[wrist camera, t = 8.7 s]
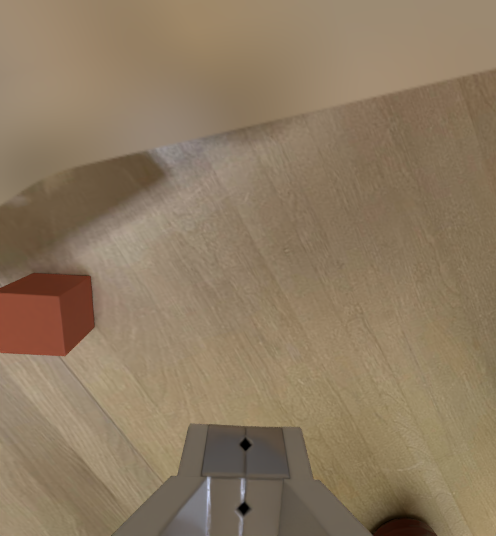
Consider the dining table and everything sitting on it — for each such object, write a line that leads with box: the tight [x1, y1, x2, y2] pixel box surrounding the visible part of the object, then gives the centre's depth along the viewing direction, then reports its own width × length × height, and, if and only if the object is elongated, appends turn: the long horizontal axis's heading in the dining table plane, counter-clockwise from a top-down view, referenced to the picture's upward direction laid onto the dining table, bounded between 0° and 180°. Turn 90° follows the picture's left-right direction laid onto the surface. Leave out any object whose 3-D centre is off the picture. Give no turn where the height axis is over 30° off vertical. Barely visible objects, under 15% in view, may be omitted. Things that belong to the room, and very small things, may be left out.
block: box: [0, 273, 94, 356], centre depth 24 cm, size 4×4×4 cm
